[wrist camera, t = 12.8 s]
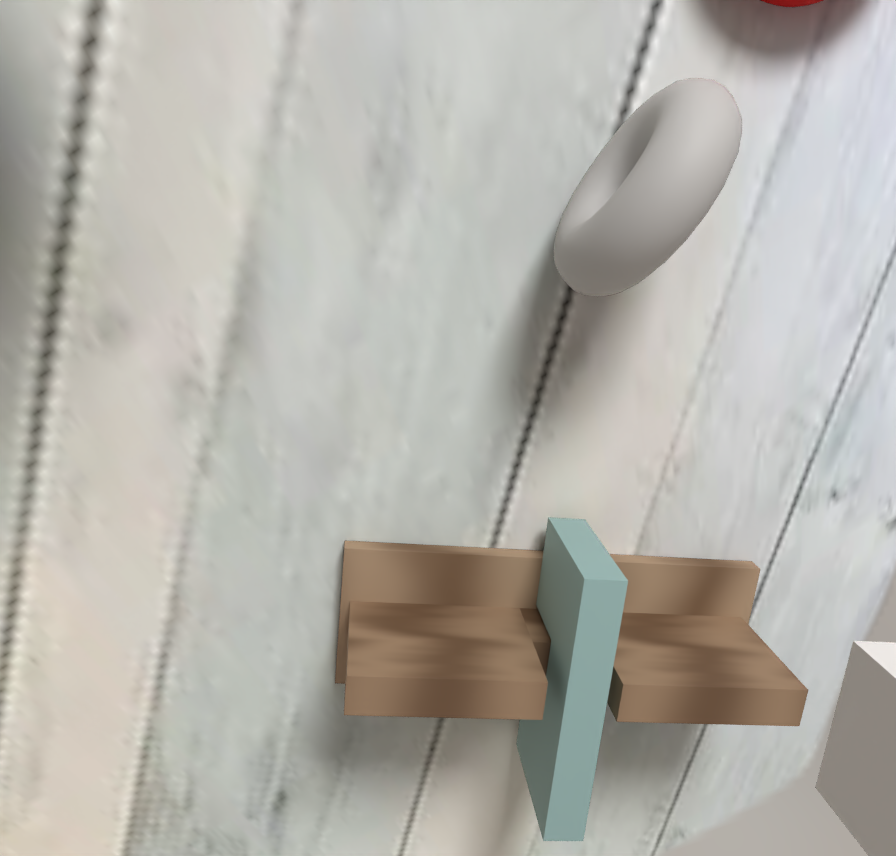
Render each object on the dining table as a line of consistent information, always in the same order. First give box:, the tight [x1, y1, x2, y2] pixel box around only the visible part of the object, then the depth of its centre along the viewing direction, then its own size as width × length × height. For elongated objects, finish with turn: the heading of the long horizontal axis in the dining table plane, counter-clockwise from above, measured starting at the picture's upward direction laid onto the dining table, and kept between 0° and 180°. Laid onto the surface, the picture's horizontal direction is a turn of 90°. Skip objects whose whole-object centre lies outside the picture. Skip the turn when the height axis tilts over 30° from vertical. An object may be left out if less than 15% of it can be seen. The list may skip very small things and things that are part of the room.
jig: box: [335, 541, 808, 726], centre depth 40 cm, size 23×8×8 cm, turn 84°
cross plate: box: [516, 517, 628, 841], centre depth 40 cm, size 14×2×7 cm, turn 174°
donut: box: [554, 78, 742, 296], centre depth 33 cm, size 10×4×10 cm, turn 147°
